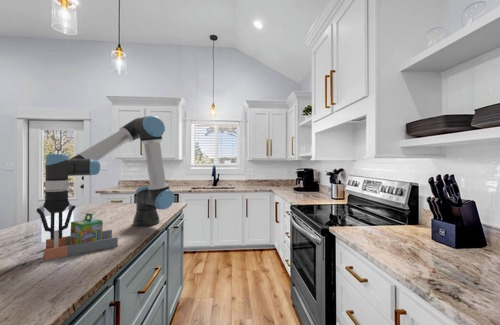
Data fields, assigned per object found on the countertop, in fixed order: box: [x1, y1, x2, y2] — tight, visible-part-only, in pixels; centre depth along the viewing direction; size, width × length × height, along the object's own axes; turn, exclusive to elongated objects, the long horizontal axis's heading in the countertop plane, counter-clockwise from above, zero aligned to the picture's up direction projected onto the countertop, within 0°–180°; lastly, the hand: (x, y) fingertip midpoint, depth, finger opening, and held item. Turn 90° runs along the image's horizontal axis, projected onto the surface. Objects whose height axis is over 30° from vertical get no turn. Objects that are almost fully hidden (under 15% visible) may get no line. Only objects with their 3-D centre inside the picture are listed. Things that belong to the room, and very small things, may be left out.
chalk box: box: [69, 212, 104, 245], centre depth 106 cm, size 9×9×15 cm
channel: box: [43, 229, 119, 261], centre depth 105 cm, size 25×16×4 cm, turn 129°
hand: (56, 246), depth 99 cm, fingers closed
